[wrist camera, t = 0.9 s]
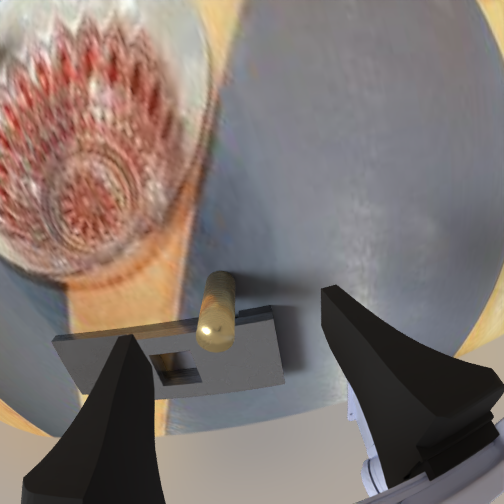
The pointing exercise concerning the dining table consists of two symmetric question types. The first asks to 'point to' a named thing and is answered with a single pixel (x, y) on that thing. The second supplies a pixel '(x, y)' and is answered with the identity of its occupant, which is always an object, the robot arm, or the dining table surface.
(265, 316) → the link
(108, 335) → the link
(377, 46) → the dining table surface
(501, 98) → the dining table surface
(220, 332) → the pin
